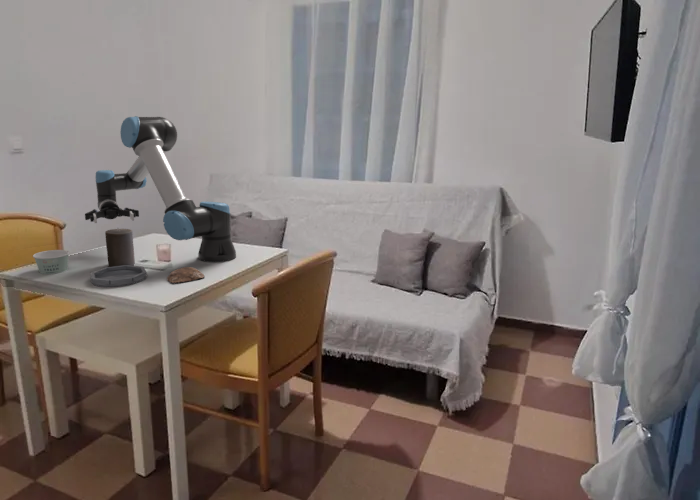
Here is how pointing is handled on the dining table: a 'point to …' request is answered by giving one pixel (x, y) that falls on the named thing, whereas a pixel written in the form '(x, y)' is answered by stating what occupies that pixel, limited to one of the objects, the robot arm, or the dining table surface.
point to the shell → (185, 275)
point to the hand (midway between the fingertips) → (114, 218)
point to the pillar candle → (120, 247)
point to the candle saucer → (118, 276)
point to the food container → (52, 261)
